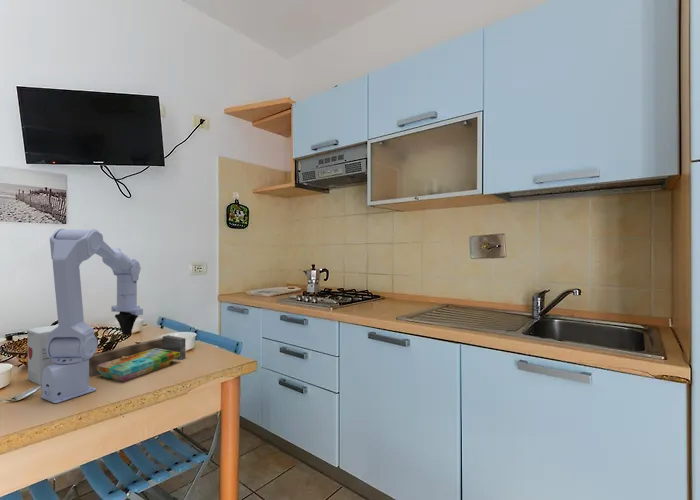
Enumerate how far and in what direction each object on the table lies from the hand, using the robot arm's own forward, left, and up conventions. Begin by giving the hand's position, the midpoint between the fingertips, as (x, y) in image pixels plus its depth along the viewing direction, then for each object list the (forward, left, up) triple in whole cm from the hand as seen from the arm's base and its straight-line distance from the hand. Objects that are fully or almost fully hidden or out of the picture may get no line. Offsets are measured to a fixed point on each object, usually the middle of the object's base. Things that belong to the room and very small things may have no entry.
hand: (126, 334), depth 120 cm
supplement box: (-19, +5, -10) cm, 22 cm away
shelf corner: (0, -8, -9) cm, 13 cm away
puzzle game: (-2, -11, -10) cm, 15 cm away
